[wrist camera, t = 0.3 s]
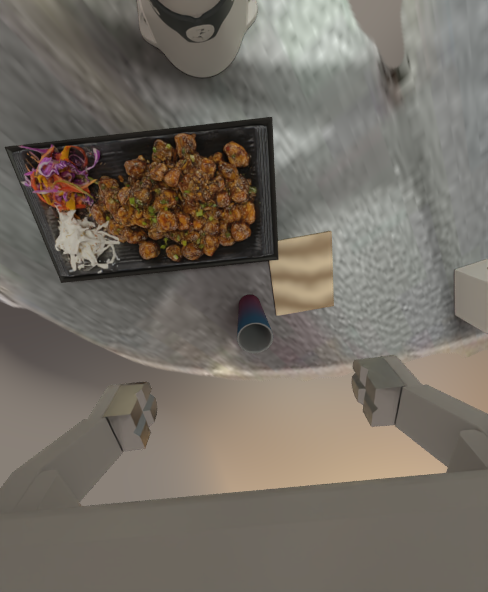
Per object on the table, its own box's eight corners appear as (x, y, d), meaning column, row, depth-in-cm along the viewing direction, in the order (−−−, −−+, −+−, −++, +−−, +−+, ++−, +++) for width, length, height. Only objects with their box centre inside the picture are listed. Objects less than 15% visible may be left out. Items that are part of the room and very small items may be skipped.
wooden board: (266, 242, 56) (266, 243, 55) (330, 230, 56) (331, 231, 55) (276, 314, 63) (276, 315, 63) (332, 304, 63) (333, 305, 62)
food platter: (73, 276, 57) (41, 294, 47) (23, 149, 47) (-30, 141, 37) (275, 254, 56) (284, 269, 47) (269, 122, 46) (277, 106, 37)
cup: (259, 287, 60) (268, 318, 47) (266, 312, 63) (276, 348, 49) (231, 295, 61) (232, 328, 47) (239, 319, 63) (242, 357, 50)
